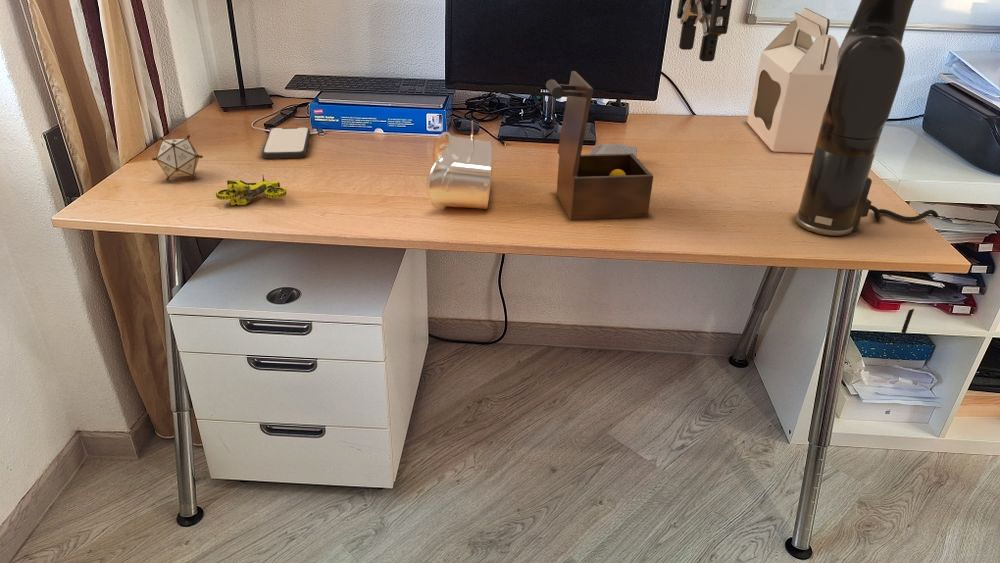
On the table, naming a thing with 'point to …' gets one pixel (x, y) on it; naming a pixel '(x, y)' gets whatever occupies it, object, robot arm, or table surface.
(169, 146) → the game die
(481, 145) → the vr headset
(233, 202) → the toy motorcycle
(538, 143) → the table surface
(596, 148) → the stone block
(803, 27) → the gable box
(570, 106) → the chest lid
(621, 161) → the toy chest
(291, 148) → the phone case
